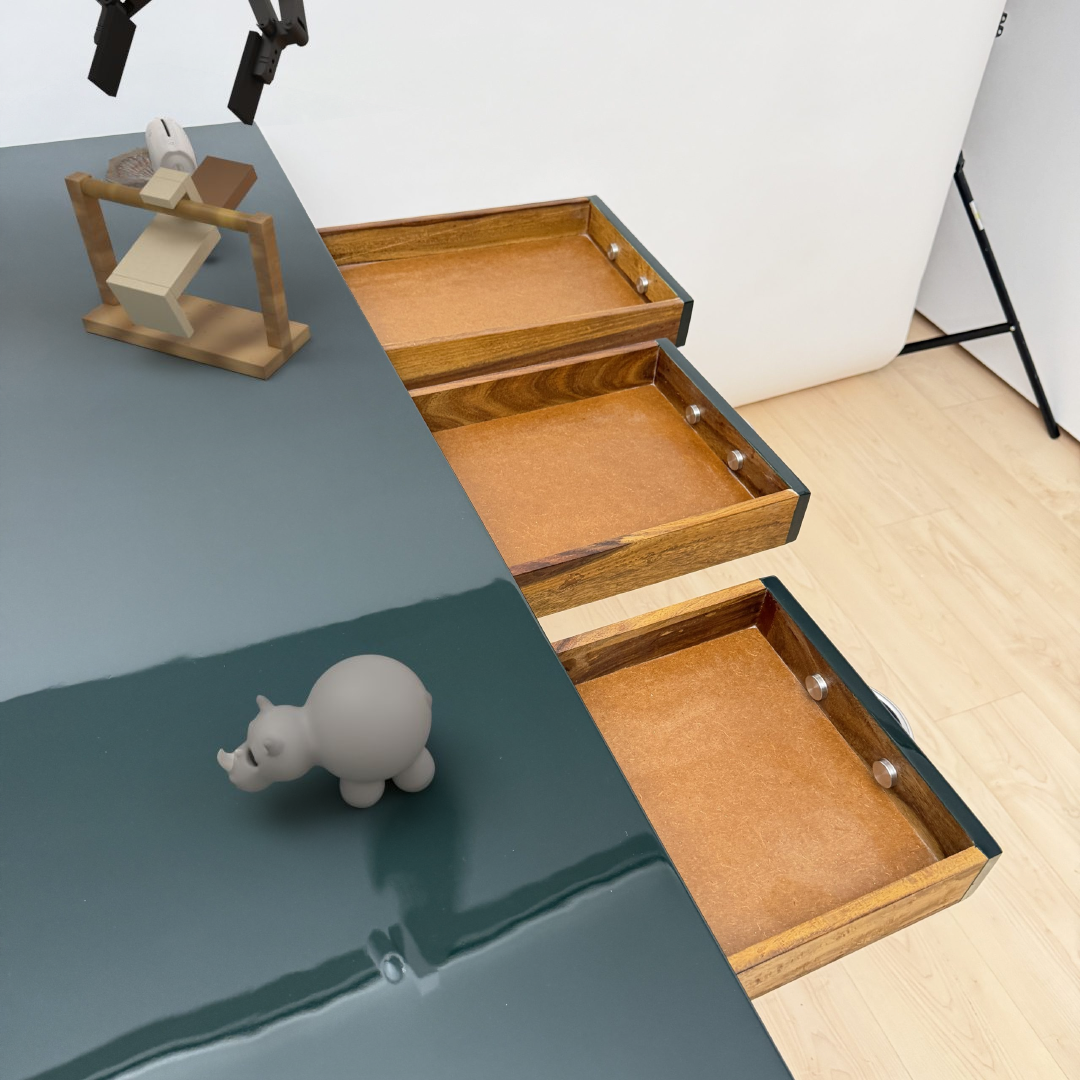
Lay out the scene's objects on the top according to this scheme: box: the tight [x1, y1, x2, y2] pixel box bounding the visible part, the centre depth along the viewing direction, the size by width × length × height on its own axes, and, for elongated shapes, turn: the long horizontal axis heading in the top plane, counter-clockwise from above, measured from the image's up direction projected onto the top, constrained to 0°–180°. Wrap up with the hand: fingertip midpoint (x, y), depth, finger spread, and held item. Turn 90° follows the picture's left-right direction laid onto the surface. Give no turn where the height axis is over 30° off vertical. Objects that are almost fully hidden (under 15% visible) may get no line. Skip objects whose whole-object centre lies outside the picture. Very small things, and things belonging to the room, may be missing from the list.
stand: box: [64, 170, 311, 381], centre depth 83 cm, size 20×8×14 cm, turn 70°
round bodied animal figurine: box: [216, 653, 436, 809], centre depth 51 cm, size 7×12×8 cm, turn 109°
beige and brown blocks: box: [106, 155, 258, 339], centre depth 82 cm, size 6×10×17 cm
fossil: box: [105, 145, 198, 189], centre depth 110 cm, size 10×12×3 cm
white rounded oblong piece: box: [144, 116, 198, 176], centre depth 98 cm, size 10×4×12 cm, turn 25°
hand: (169, 102), depth 75 cm, fingers open, 13 cm apart
